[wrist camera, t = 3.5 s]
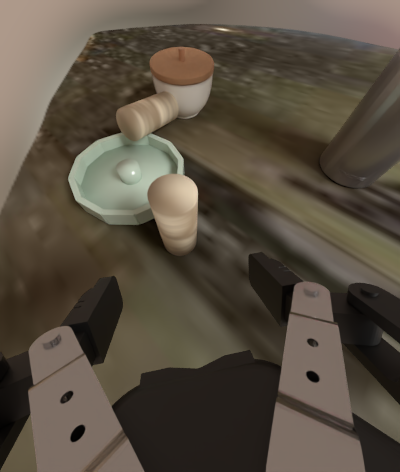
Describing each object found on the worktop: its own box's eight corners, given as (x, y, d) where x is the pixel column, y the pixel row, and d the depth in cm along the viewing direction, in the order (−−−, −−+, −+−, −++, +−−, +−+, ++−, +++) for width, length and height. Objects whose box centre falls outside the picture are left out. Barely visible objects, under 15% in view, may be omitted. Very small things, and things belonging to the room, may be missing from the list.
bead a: (175, 221, 27) (166, 167, 18) (202, 235, 26) (206, 185, 17) (157, 245, 25) (136, 199, 16) (185, 261, 24) (180, 222, 15)
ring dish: (126, 134, 35) (120, 118, 32) (202, 168, 31) (202, 154, 29) (56, 194, 28) (42, 180, 26) (142, 244, 25) (136, 234, 23)
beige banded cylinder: (142, 145, 29) (178, 124, 34) (138, 113, 25) (179, 95, 31) (119, 135, 30) (158, 116, 35) (113, 103, 26) (156, 87, 32)
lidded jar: (151, 100, 39) (139, 38, 31) (198, 90, 42) (199, 30, 33) (167, 132, 35) (158, 70, 27) (219, 119, 37) (226, 58, 29)
